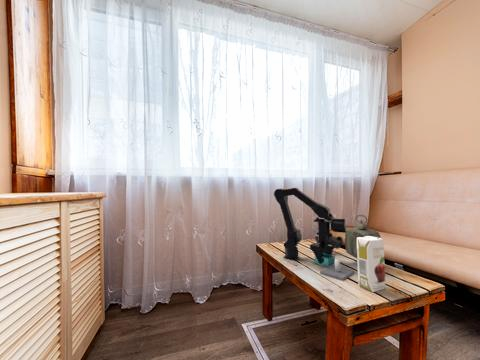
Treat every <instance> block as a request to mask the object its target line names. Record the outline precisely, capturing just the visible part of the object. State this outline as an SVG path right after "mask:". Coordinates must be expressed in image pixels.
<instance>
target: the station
mask: <svg viewBox="0 0 480 360" xmlns="http://www.w3.org/2000/svg"><path fill="white" fill-rule="evenodd" d="M341 264H342V263H341V261H340V259H338V258H335V264H334V265H332V266H330V267H326V268H324V269H323V270H320V274H321V275H323V276H327V277H330V278H333V279H336V280H340V281H345V280H346V279H348V278H349V277H351V276H352V275H353V274H355V270H353V269H349V268H346V267H343V266H342V265H341Z"/></svg>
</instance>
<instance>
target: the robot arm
mask: <svg viewBox="0 0 480 360" xmlns="http://www.w3.org/2000/svg"><path fill="white" fill-rule="evenodd" d="M273 196H274V199H275V200H276V201H277V203H278V204H279V206H280V210H281V212H282V217H283V219H284V224H285V227H286V238H287V240H286V241H285V242H284V243H283V247H284V253H285V254H284V255H283V259H288V260H291V261H295V260H297V259H299V258H300V256H299V250H298V249H299V248H298V245H299V243H300V242H301V241H302V237H303V236H302V233H301V229H297V228H296V225H295V222H294V218H293V216H292V212H291V209H290V206H289V196H295V198H297V199H298V200H299V201H301V202H302V203H303V204H305V205H307V206H308V207H309V208H310V209H311V210H312V211H313V213H314V214H315V215H316V216H317V217H316V218H315V219H314V220H313V222H315V223H317V232H316V235H318V240H317V242H312V243H311V244H310V245H309V250H310V251H312V252H313V254H314V257H315V256H316V258H317V260H318V262H319V263H320V264H322V255H323V253H324V252H325V251H326V254H330V255H333V251H334V249H337V250H338V249H339V248H341V247H342V245H343V244H344V241H343V237H342V236H341V235H340V236H337V237H336V236H333V234H332V232H334V233H343V234H345V233H346V231H347V224H346V223H347V222H346V219H345V218H335V217H334V216H333V214H332V213H331V209H330V208H329V207H328V206H326V205H324V204H323V203H320V202H317V201H315V200H314V199H313V198H311V197H310V196H309V195H307V194H306V193H304V192H303V191H301V190H300V189H299V188H298V187H292V188H286V189H285V188H276V189H275V190H274V192H273ZM331 231H332V232H331ZM324 250H325V251H324Z"/></svg>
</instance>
